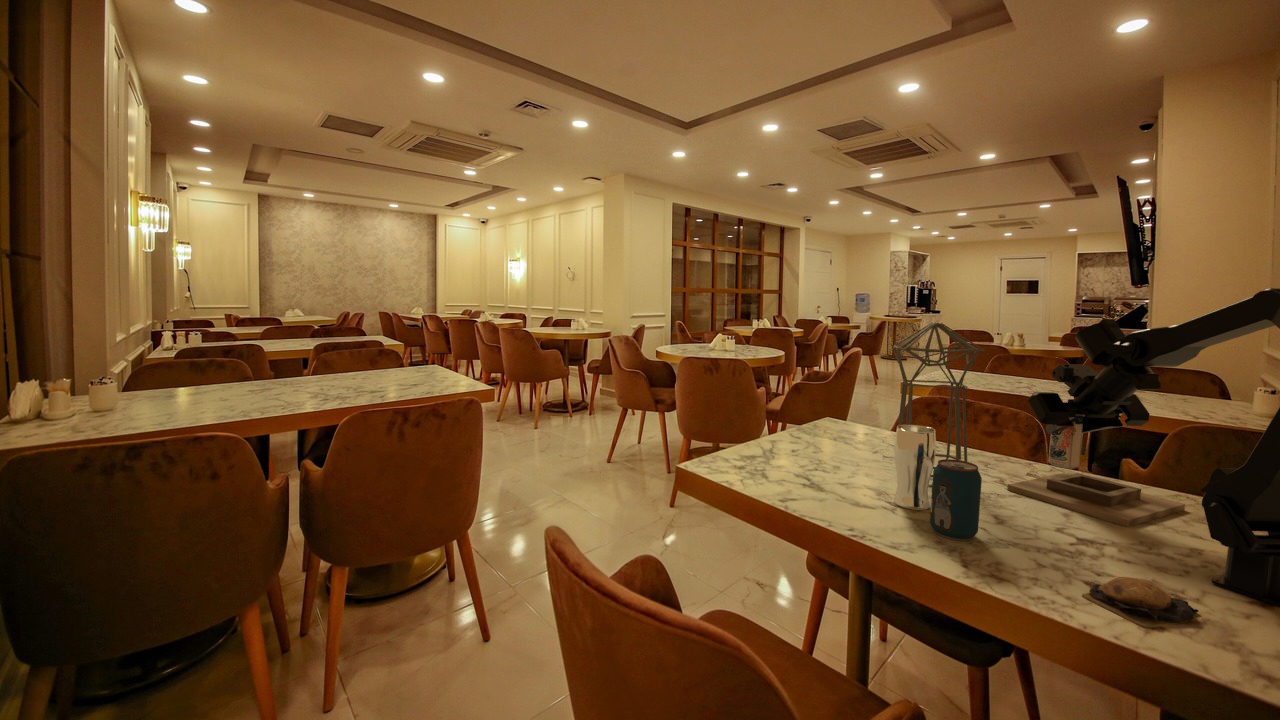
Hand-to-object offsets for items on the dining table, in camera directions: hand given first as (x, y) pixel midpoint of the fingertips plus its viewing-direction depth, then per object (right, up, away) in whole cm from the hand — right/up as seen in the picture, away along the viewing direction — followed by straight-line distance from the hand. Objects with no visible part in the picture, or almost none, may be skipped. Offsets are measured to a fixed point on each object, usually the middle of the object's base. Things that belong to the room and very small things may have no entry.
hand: (1061, 432), depth 104 cm
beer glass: (-32, -14, -4) cm, 35 cm away
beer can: (0, -7, -1) cm, 7 cm away
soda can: (-32, -15, -17) cm, 39 cm away
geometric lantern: (-21, -12, +11) cm, 27 cm away
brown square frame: (+6, -13, -1) cm, 15 cm away
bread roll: (-21, -18, -38) cm, 47 cm away
